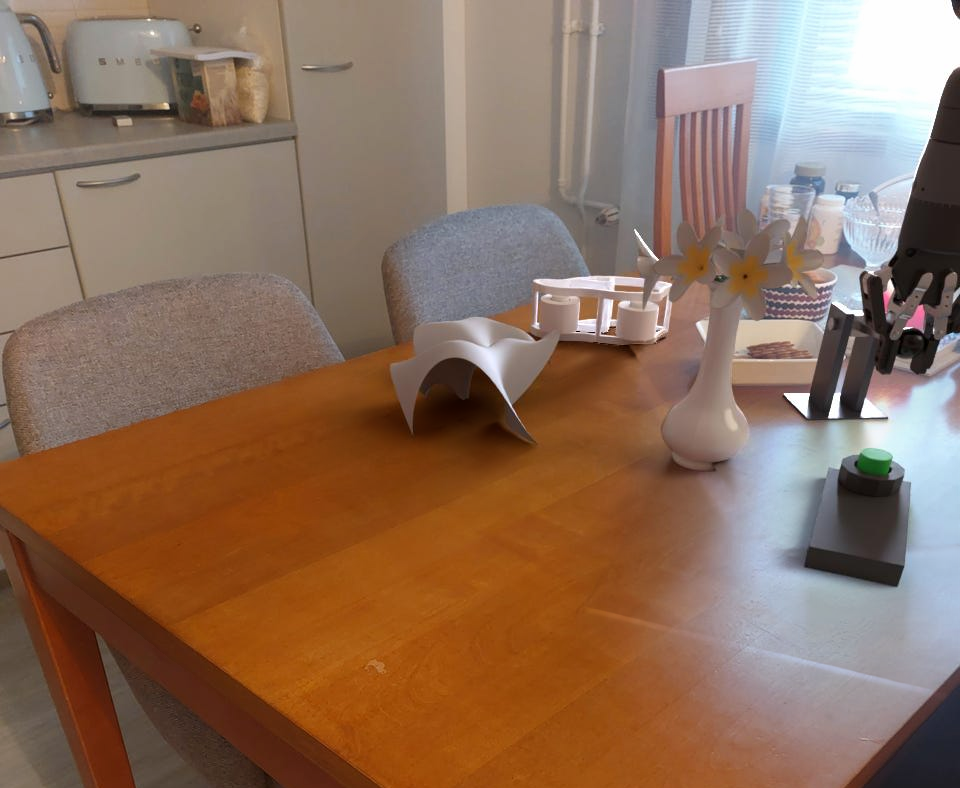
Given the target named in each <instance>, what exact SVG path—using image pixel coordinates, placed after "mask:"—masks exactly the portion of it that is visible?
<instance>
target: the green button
mask: <svg viewBox="0 0 960 788" xmlns="http://www.w3.org/2000/svg"><path fill="white" fill-rule="evenodd" d="M859 455H860V456H859V459H858V463H857V467H856V468H857V469H858V470H860V471H863V472H865V473H869V474H874V475H886V474H888V471H889V468H890V465H891V462H892V461H893V457H894V456H893V454H892V453H891V452H889V451H887V450H884V449H881V448H876V447H867V448H863V449H861V451H860V453H859Z"/></svg>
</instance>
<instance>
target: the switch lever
mask: <svg viewBox="0 0 960 788" xmlns="http://www.w3.org/2000/svg"><path fill="white" fill-rule="evenodd" d="M851 311H852V312H853V313H855V316H854V320H853V324H852V328H851V332H850V336H849V338H855V337H868V335H869V336H872V337H874V338H877V339H879V334H878V333H876V332H874V331H873V330H872V329H870V328H869V327H867V326H866V325H865V321H864V313H863V312H862V310H851ZM923 333H924V332H923V331H922V330H920V329H919V328H916V327H914V326H913V327H912V326H911V327H909V326H908V327H905V328H904V330H903V332H902V334H901V336H900V338H898V339H899V340H900V345H899V348H898V352H897V355H896V358H898V359H901V360H912V358H915V357H916V356H918V355H919V354H920V353H921V352H922V351H923V349H924V346H925V336H924V334H923Z"/></svg>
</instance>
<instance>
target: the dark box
mask: <svg viewBox="0 0 960 788" xmlns="http://www.w3.org/2000/svg"><path fill="white" fill-rule="evenodd" d="M859 456H860V454H850V455H848V456H845V457H844V458H842V460H841V463H840V467H839V468H833V467H828V469H827V473H826V477H825V481H824V485H823V489H822V493H821V497H820V501H819V505H818V507H817V513H816V517H815V521H814V524H813V529H812V533H811V536H810V540H809V545H808V548H807V552H806V556H805V560H804V564H803V568H806V569H810V570H816V571H820V572H823V573H824V572H825V573H829V574H834V575H839V576H844V577H847V578H848V577H849V578H852V579H857V580H862V581H867V582H871V583H876V584H881V585H884V586H885V585H886V586H890V587H895V588H898V587H899V584H900V581H901V579H902V575H903V572H904V569H905V567H906V556H907V555H906V554H907V541H908V527H909V515H910V501H911V487H912V482H911V481H906V480H904V479H905V471H906V470H905V468H904V467H902V465H900V464H899V462H896V461H894V460H892V462H891V465H890V468H889V471H888V474H886V475H874V474H869V473H865V472H863V471H860V470H858V469H857V468H856V467H857V463H858V459H859Z"/></svg>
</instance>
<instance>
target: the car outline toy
mask: <svg viewBox="0 0 960 788" xmlns="http://www.w3.org/2000/svg"><path fill="white" fill-rule="evenodd" d="M644 281H645V279H643V278H641V277H632V276H618V275H617V276H616V275H591V276H577V277H575V276H574V277H570V278H564V279H563V278H561V279H559V278H557V279H555V278H535V279H533V280H532V300H531V316H530V317H531V318H530V325H529V333H530V334H531V335H533V336H535V337H537V338H540V339H542V338H543V337H544V336H546V335H547V334H549V333H550V332H552V331H555V330H560V332H561V333H560V338H559V341H562V342H586V343H587V342H588V343H593V342H598V343H597V344H600V343H610V344H611V343H612V344H633V343H653V342H656V340H657V338H658V337H660V336H661V335H663V334H665V333H667V332H668V333H669V328H670V320H671V314H672V306H673V302H670V301H669V291H670V288H671V286H672V284H673V283H671V282H666V281H660V280H658V282H657V283H656V285H655V287H654V288H653V290H652V292H651V294H650V297H649V299H648V301H647V304H646V306H645V309H644V311H643V305H642V304H643V302H642V301H643V291H621V290H615V287H616V286H624V287H625V286H626V287H635V288H636V287H638V288H644ZM539 293H540V294H544V295H542V296H541V297H540V301H539ZM580 297H583V298H594V299H598V300H597V309H596V310H597V311H596V318H588V319H582V320H581V319H580V309H581V298H580ZM665 297H666V302H665V303H666V304H665V311H664V318H663V324H662V326H661V325H658V318H659V311H660V310H659V309H660V306H659V305H658V304H657V303H656V302H661V301H663V298H665ZM614 301H620V302H618V303H617V313H616V319H612V317H613V316H612V315H613V308H614V307H613V306H614ZM539 303H540V304H539ZM538 304H539V320H538ZM537 320H538V321H537ZM610 326H616V328H615V332H614V334H615V335H608V334H601V332H603V333H604V332H608V333H609V331H610V328H609V327H610ZM608 330H609V331H608ZM656 330H660V331H658V332H656ZM576 331H580V332H576ZM588 332H595V333H588ZM656 343H657V342H656Z"/></svg>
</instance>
